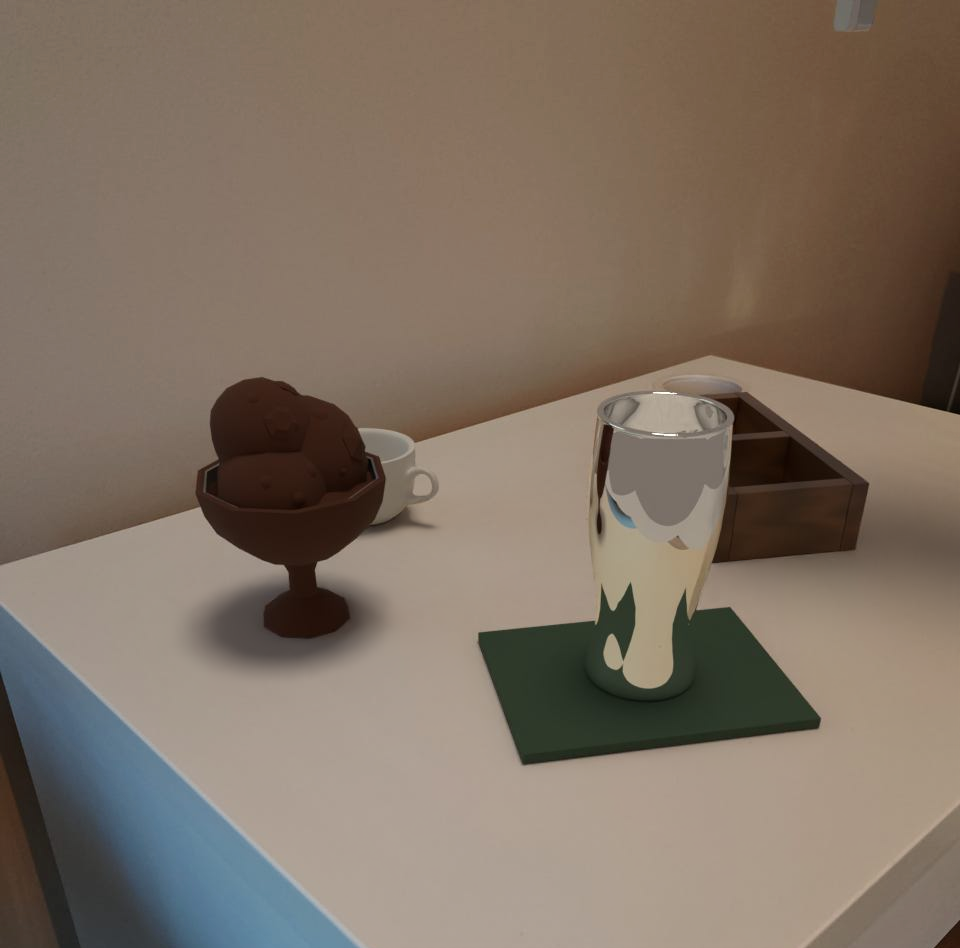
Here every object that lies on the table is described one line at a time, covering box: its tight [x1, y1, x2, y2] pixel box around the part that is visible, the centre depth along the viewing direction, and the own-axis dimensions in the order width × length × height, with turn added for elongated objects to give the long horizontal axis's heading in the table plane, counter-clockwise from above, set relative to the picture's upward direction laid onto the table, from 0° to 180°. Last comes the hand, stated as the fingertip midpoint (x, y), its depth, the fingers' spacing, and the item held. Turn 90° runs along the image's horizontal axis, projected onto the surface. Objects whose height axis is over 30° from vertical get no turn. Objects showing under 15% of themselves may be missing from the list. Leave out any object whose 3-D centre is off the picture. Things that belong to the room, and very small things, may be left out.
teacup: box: [357, 427, 440, 526], centre depth 74 cm, size 10×8×5 cm
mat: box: [477, 606, 822, 764], centre depth 56 cm, size 16×12×1 cm
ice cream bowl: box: [194, 376, 386, 639], centre depth 59 cm, size 11×11×15 cm
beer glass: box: [585, 390, 734, 701], centre depth 52 cm, size 7×7×15 cm
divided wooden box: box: [698, 391, 870, 563], centre depth 76 cm, size 11×20×5 cm, turn 11°
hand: (928, 31), depth 56 cm, fingers open, 8 cm apart
